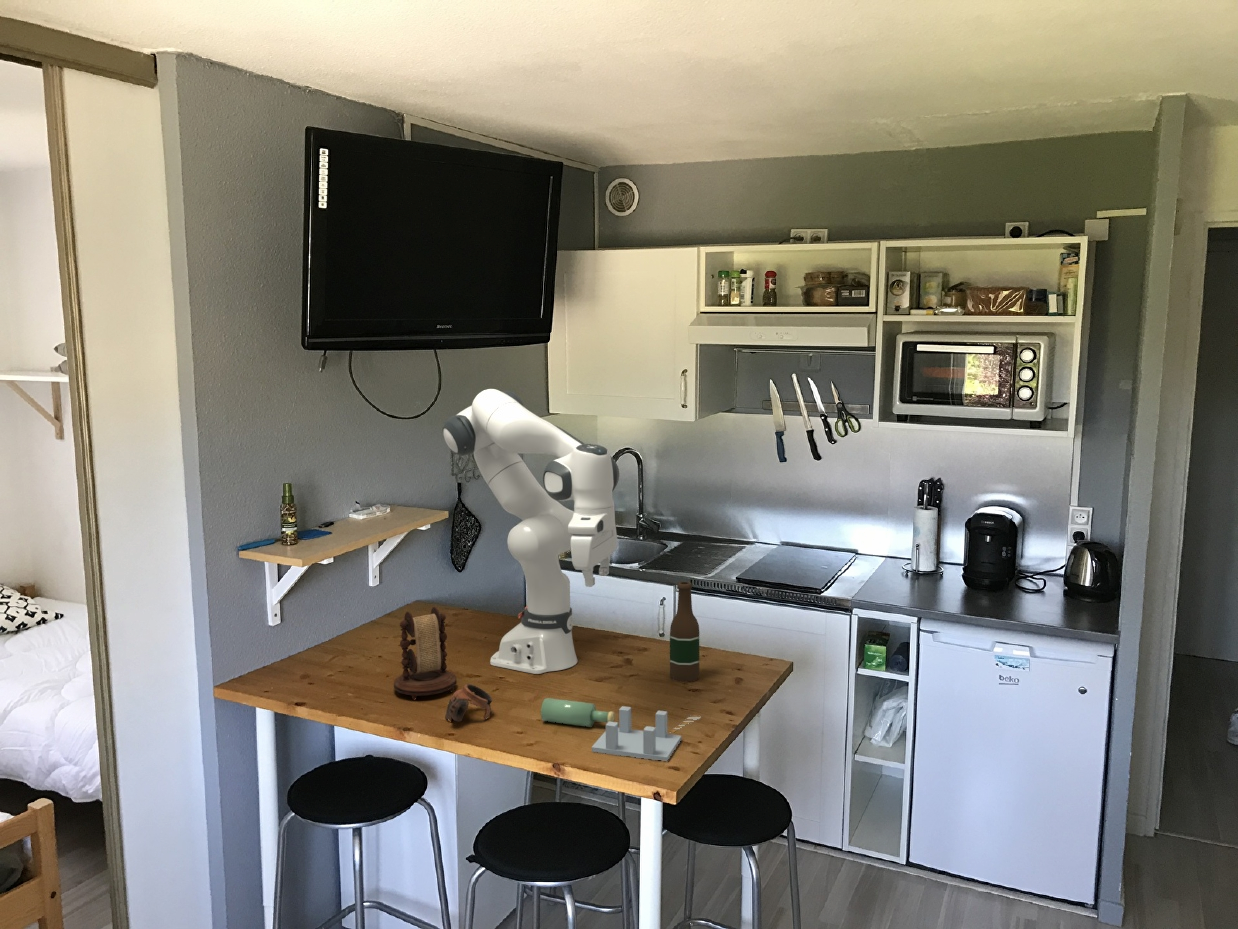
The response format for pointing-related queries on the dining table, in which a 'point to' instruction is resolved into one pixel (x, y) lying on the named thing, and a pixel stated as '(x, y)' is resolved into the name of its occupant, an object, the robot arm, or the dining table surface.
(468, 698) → the brown ring shaped device
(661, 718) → the rest
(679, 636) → the beer bottle
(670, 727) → the dining table surface
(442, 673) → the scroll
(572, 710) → the bottle
